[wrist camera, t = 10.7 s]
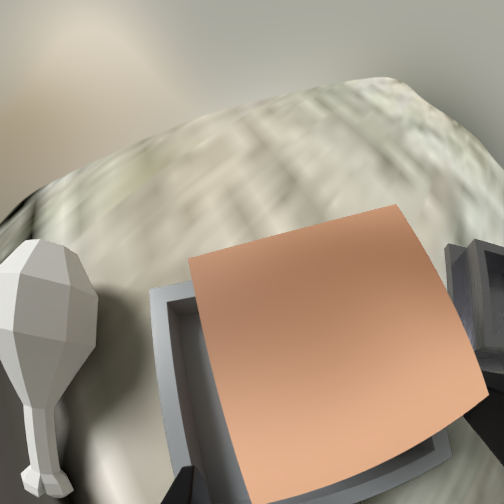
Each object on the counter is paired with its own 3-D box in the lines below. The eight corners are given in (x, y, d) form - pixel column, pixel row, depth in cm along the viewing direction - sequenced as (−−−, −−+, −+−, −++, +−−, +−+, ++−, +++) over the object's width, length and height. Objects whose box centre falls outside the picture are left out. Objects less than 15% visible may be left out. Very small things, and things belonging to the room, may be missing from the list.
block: (350, 415, 14) (488, 394, 4) (265, 443, 14) (253, 506, 3) (323, 338, 17) (396, 204, 7) (241, 363, 16) (188, 258, 6)
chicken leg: (21, 466, 13) (-18, 501, 6) (22, 261, 19) (-20, 220, 12) (111, 485, 16) (102, 537, 8) (110, 273, 22) (95, 234, 15)
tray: (424, 453, 13) (452, 456, 10) (204, 513, 12) (189, 532, 9) (364, 267, 20) (378, 240, 17) (167, 310, 19) (149, 289, 16)
